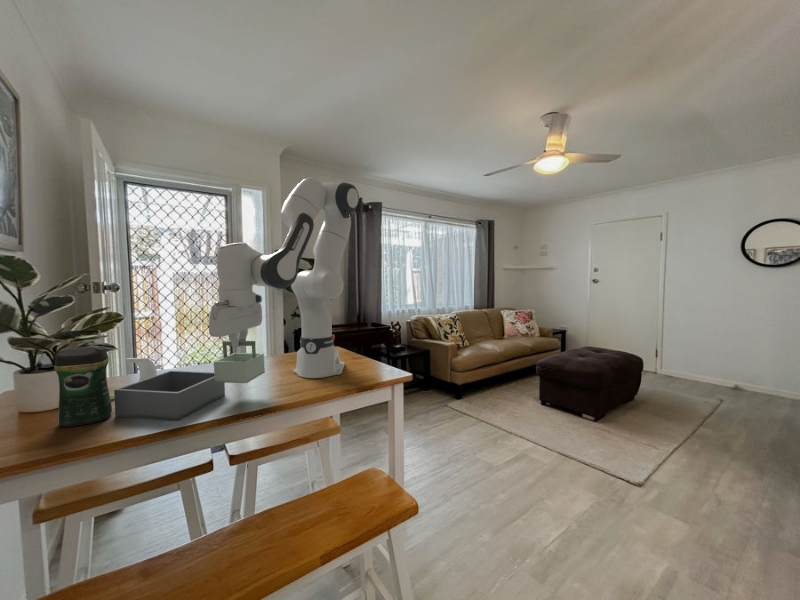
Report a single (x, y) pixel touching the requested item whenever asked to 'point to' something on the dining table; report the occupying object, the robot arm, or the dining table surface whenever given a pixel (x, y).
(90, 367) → the coffee jar
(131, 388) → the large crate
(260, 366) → the box
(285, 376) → the dining table surface
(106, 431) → the dining table surface
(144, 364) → the white curved piece
